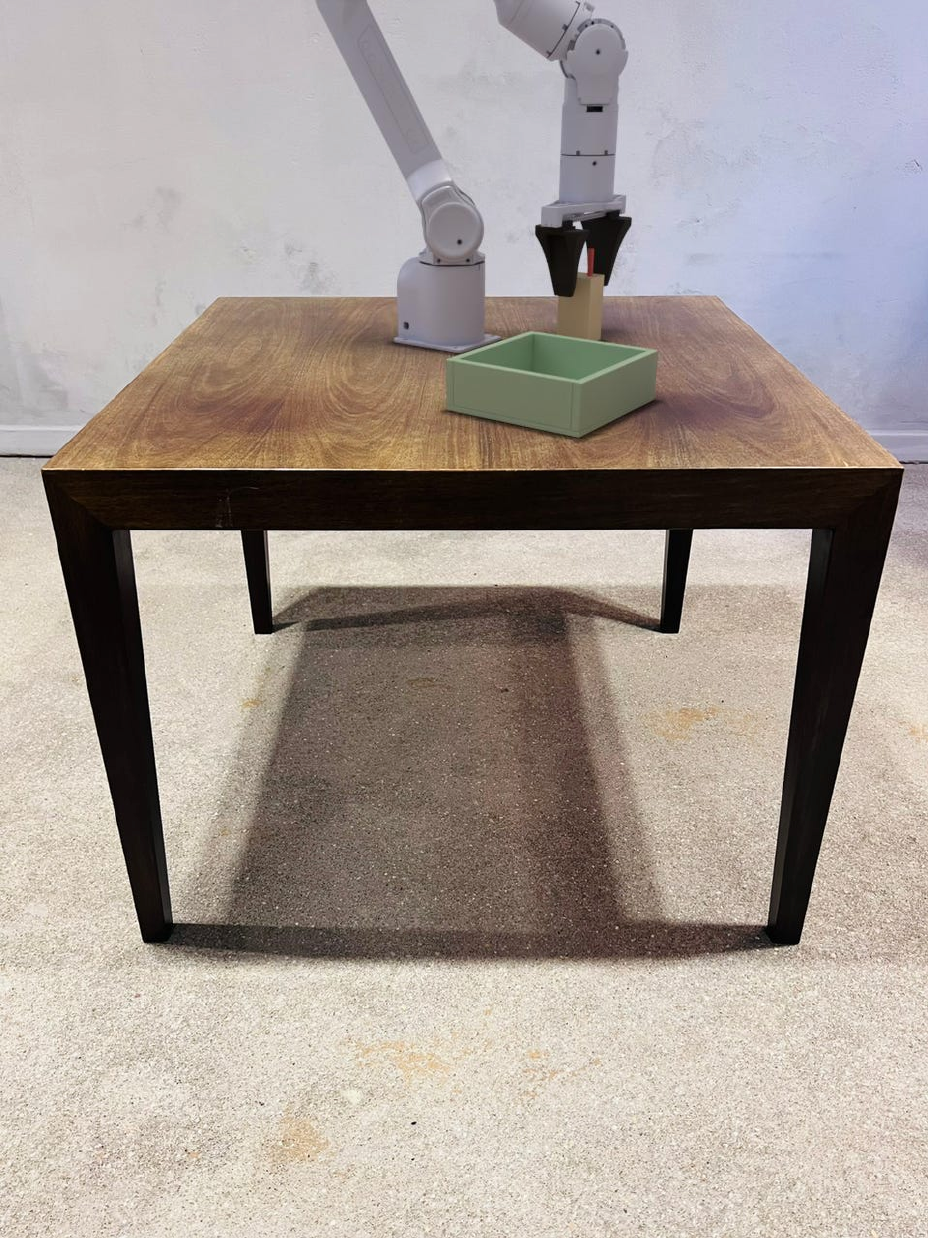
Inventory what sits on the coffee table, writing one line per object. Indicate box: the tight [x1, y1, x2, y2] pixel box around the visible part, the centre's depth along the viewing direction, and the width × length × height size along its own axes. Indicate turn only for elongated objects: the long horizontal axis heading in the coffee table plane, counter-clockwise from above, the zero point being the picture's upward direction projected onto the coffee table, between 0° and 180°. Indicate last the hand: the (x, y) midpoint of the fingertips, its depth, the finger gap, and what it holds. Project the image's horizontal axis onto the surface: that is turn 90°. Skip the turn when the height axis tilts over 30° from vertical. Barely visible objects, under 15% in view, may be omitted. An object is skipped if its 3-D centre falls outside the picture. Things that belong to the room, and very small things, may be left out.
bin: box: [445, 330, 659, 439], centre depth 87 cm, size 14×14×4 cm
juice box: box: [556, 248, 605, 341], centre depth 108 cm, size 4×3×10 cm
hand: (581, 290), depth 108 cm, fingers open, 7 cm apart
